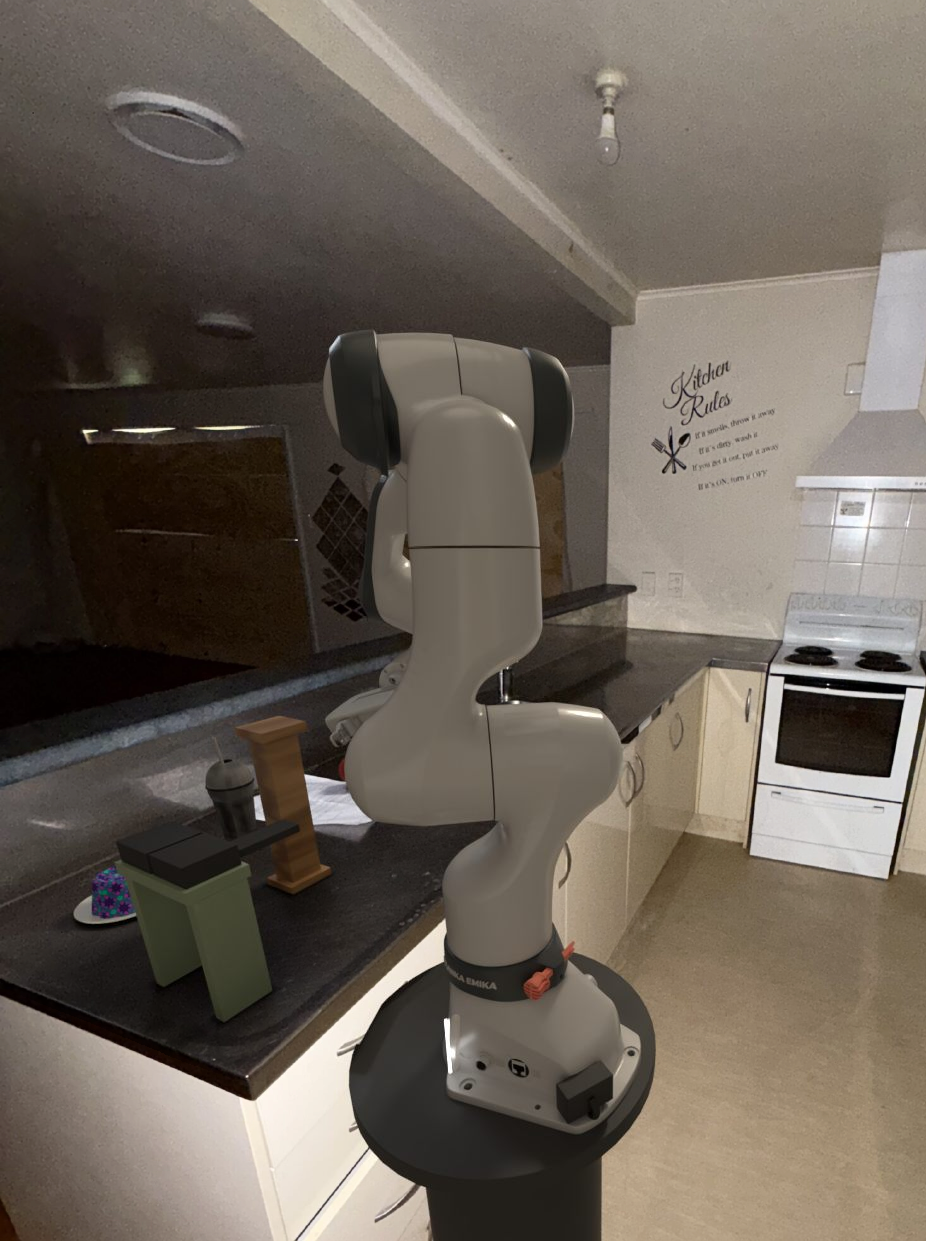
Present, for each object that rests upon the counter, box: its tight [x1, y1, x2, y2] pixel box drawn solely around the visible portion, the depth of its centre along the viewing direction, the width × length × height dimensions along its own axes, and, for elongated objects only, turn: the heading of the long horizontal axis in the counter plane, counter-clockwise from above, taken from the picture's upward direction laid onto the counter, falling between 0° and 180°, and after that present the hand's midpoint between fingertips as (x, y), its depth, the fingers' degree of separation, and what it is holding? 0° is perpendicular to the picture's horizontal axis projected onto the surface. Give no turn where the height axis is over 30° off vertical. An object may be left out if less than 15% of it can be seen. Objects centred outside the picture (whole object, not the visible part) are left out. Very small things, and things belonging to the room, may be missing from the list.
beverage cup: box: [204, 736, 258, 842], centre depth 107 cm, size 7×7×20 cm
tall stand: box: [234, 715, 333, 895], centre depth 95 cm, size 6×7×26 cm
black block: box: [115, 820, 203, 874], centre depth 71 cm, size 6×6×2 cm
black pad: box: [149, 819, 300, 890], centre depth 72 cm, size 6×14×2 cm, turn 151°
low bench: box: [114, 859, 273, 1023], centre depth 73 cm, size 14×7×17 cm, turn 61°
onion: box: [338, 757, 346, 783], centre depth 134 cm, size 6×6×8 cm
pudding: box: [72, 866, 137, 925], centre depth 92 cm, size 12×12×5 cm
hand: (362, 734), depth 83 cm, fingers open, 8 cm apart
